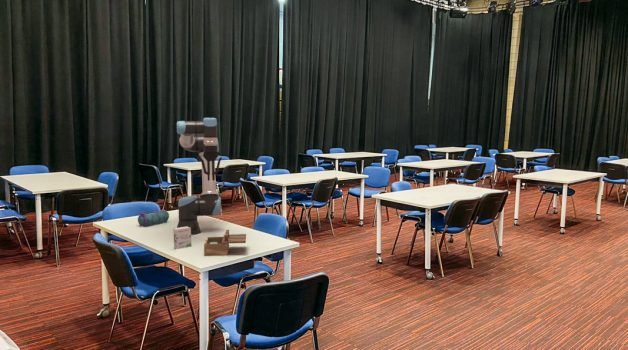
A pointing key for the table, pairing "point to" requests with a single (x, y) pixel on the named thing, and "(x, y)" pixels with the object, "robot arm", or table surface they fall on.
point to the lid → (233, 238)
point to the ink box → (182, 237)
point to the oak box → (215, 247)
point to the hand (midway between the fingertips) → (211, 186)
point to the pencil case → (153, 218)
